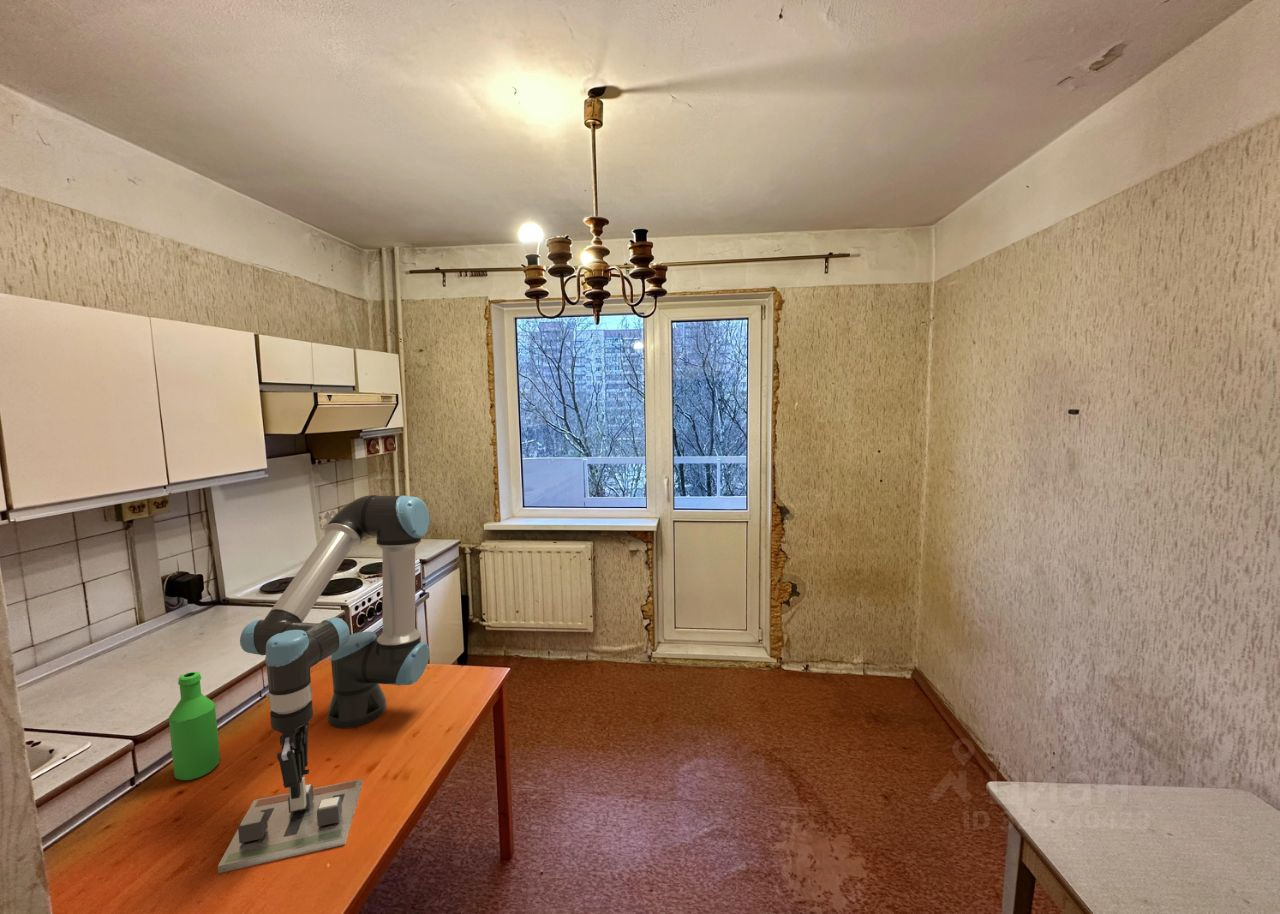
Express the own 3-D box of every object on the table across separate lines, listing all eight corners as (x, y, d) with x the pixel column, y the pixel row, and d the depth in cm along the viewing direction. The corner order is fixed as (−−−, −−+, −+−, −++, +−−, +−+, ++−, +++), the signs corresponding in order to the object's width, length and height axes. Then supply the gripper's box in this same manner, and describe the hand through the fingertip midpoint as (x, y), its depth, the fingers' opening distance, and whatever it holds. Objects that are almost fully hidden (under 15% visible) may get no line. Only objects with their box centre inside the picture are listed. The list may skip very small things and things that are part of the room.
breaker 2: (293, 803, 118) (292, 786, 117) (313, 798, 119) (312, 782, 118) (289, 812, 115) (287, 796, 114) (309, 808, 116) (308, 792, 116)
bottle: (227, 764, 133) (219, 670, 130) (186, 787, 125) (177, 687, 122) (208, 754, 137) (200, 663, 134) (166, 776, 129) (157, 679, 126)
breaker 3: (321, 816, 114) (320, 799, 114) (342, 811, 115) (341, 795, 115) (317, 826, 111) (316, 809, 111) (339, 822, 112) (337, 805, 112)
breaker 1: (245, 831, 110) (243, 814, 109) (267, 827, 111) (266, 810, 110) (239, 843, 107) (237, 825, 106) (262, 838, 108) (261, 820, 108)
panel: (254, 806, 119) (253, 799, 119) (362, 784, 126) (361, 778, 126) (218, 873, 102) (217, 865, 102) (345, 844, 109) (344, 837, 109)
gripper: (281, 692, 117) (288, 790, 120) (259, 725, 105) (267, 834, 107) (319, 686, 120) (325, 783, 122) (302, 718, 107) (309, 825, 110)
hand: (298, 807), depth 115 cm, fingers closed
